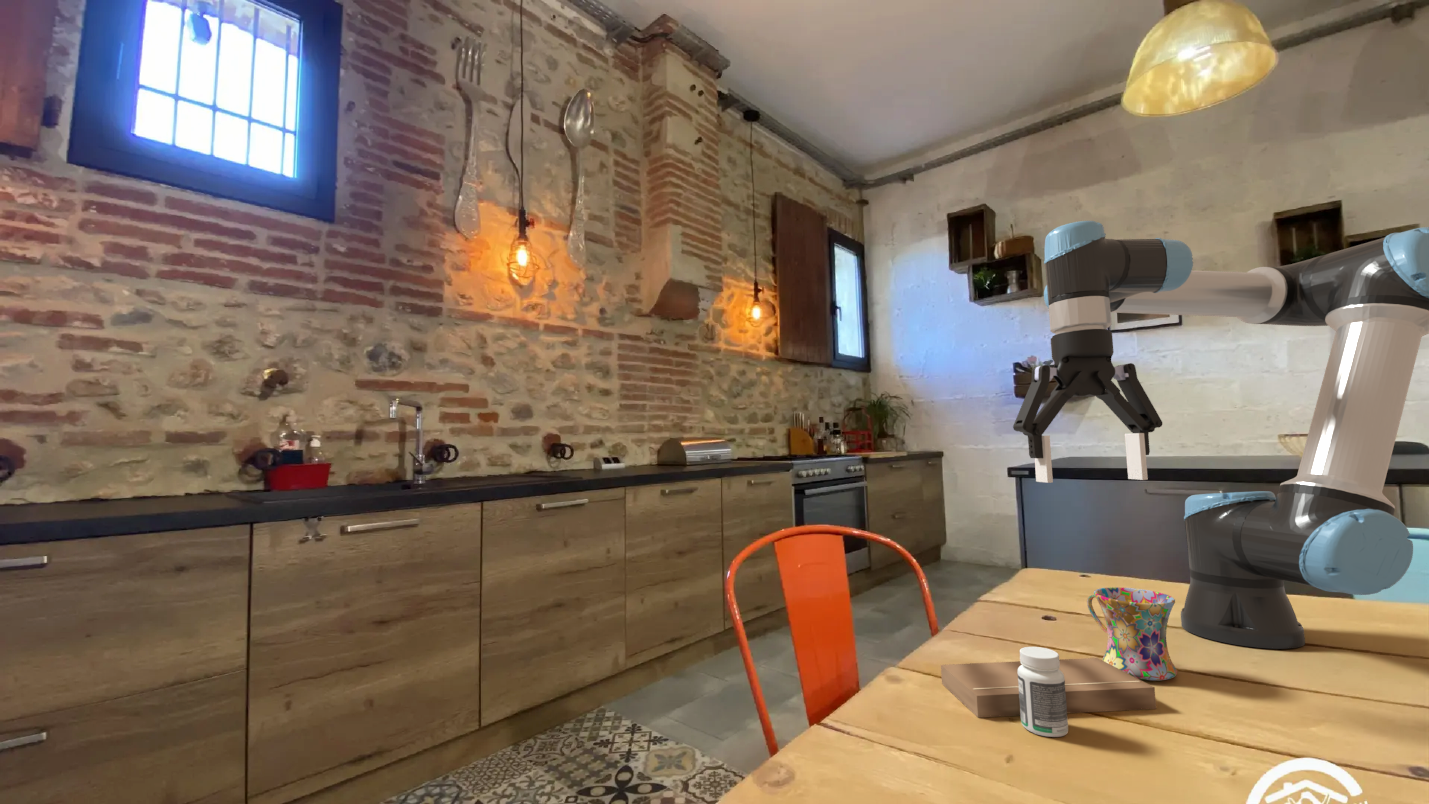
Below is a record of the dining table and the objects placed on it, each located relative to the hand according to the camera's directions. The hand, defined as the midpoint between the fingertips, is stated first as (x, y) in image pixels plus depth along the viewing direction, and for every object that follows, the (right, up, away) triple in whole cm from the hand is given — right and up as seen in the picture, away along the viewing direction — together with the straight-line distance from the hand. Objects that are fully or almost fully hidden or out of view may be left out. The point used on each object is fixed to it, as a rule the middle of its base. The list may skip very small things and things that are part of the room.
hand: (1091, 481), depth 83 cm
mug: (+6, -27, 0) cm, 27 cm away
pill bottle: (-16, -26, -16) cm, 34 cm away
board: (-11, -27, -8) cm, 30 cm away
